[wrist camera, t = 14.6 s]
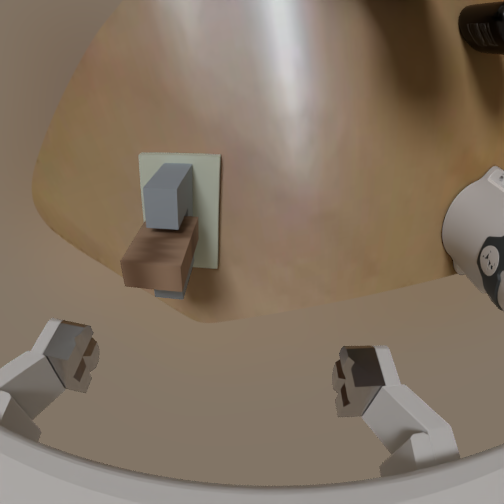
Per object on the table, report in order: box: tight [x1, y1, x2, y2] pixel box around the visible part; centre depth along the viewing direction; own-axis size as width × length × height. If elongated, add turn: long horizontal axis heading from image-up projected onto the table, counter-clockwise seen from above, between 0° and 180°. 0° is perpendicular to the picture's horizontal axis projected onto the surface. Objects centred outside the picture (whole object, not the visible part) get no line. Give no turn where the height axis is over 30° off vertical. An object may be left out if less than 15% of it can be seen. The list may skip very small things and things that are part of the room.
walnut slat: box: [120, 216, 199, 292], centre depth 34 cm, size 6×3×10 cm, turn 86°
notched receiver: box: [139, 153, 221, 299], centre depth 38 cm, size 10×16×9 cm, turn 176°
